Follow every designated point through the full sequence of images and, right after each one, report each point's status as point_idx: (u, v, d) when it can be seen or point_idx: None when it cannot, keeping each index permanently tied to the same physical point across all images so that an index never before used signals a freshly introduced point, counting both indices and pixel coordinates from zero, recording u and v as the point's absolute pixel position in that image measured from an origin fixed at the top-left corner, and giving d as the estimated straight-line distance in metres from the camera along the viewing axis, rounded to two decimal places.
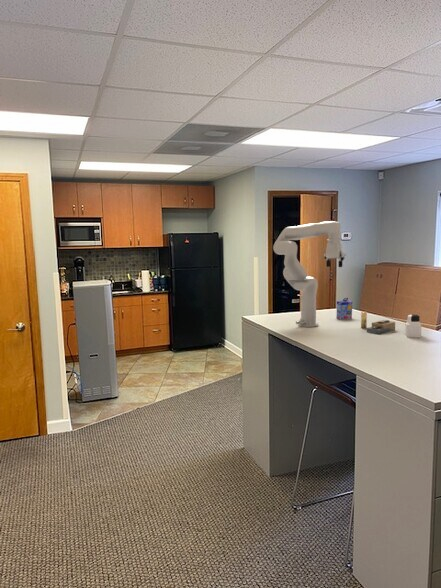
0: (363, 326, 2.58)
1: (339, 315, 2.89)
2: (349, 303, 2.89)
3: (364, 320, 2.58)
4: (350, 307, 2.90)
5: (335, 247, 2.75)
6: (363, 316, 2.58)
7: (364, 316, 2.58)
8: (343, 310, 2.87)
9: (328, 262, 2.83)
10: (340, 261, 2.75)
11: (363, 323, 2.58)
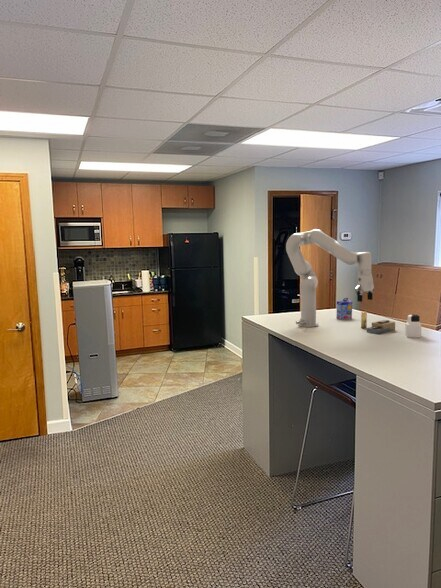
0: (363, 326, 2.58)
1: (339, 315, 2.89)
2: (349, 303, 2.89)
3: (364, 320, 2.58)
4: (350, 307, 2.90)
5: (371, 279, 2.56)
6: (363, 316, 2.58)
7: (364, 316, 2.58)
8: (343, 310, 2.87)
9: None
10: (371, 293, 2.60)
11: (363, 323, 2.58)
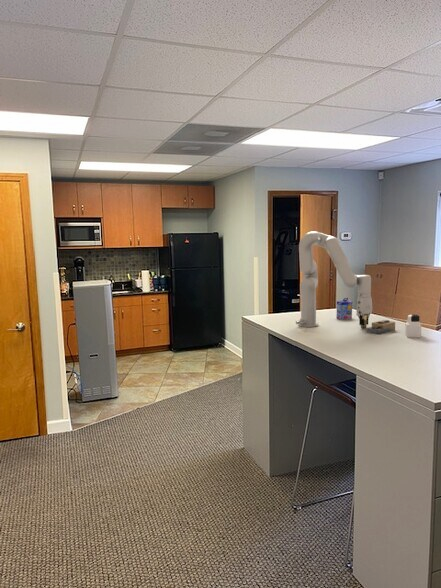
0: (363, 326, 2.58)
1: (339, 315, 2.89)
2: (349, 303, 2.89)
3: (364, 320, 2.58)
4: (350, 307, 2.90)
5: (370, 302, 2.57)
6: None
7: (364, 316, 2.58)
8: (343, 310, 2.87)
9: None
10: (367, 318, 2.60)
11: None
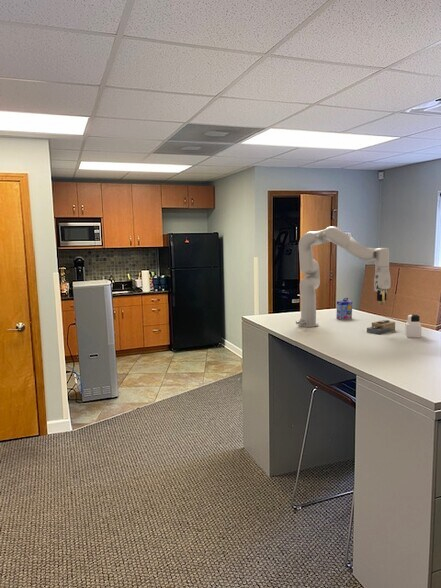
0: (381, 302, 2.47)
1: (339, 315, 2.89)
2: (349, 303, 2.89)
3: (382, 295, 2.46)
4: (350, 307, 2.90)
5: (389, 276, 2.45)
6: None
7: (382, 291, 2.46)
8: (343, 310, 2.87)
9: None
10: (385, 294, 2.48)
11: None
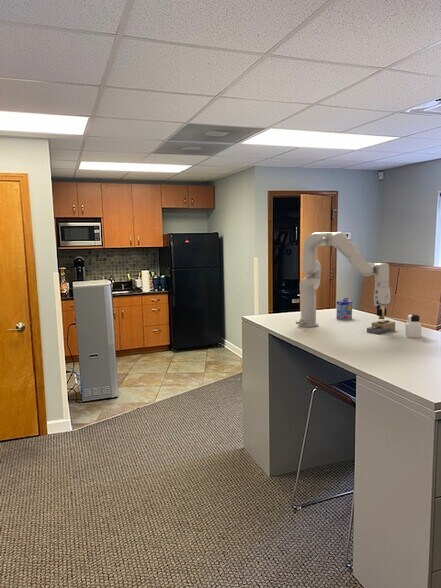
0: (381, 317, 2.48)
1: (339, 315, 2.89)
2: (349, 303, 2.89)
3: (382, 310, 2.47)
4: (350, 307, 2.90)
5: (388, 291, 2.47)
6: None
7: (382, 306, 2.47)
8: (343, 310, 2.87)
9: None
10: (385, 308, 2.49)
11: None
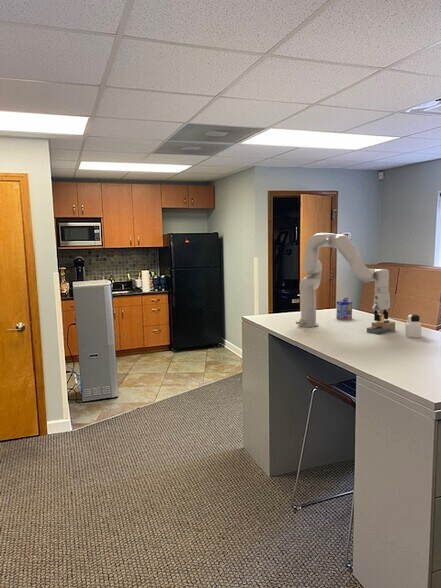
0: None
1: (339, 315, 2.89)
2: (349, 303, 2.89)
3: (381, 323, 2.48)
4: (350, 307, 2.90)
5: (388, 297, 2.47)
6: (380, 319, 2.48)
7: (381, 319, 2.48)
8: (343, 310, 2.87)
9: None
10: None
11: None
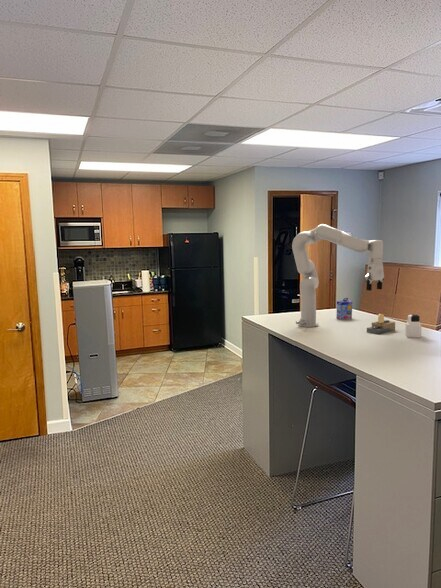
0: None
1: (339, 315, 2.89)
2: (349, 303, 2.89)
3: (381, 323, 2.48)
4: (350, 307, 2.90)
5: (382, 268, 2.50)
6: (380, 319, 2.48)
7: (381, 319, 2.48)
8: (343, 310, 2.87)
9: None
10: None
11: None
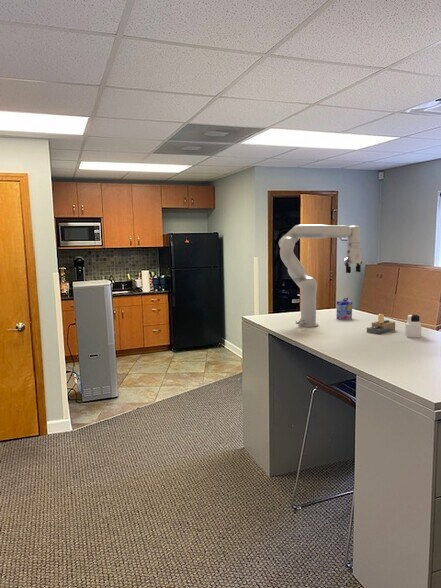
0: None
1: (339, 315, 2.89)
2: (349, 303, 2.89)
3: (381, 323, 2.48)
4: (350, 307, 2.90)
5: (359, 252, 2.68)
6: (380, 319, 2.48)
7: (381, 319, 2.48)
8: (343, 310, 2.87)
9: None
10: None
11: None
